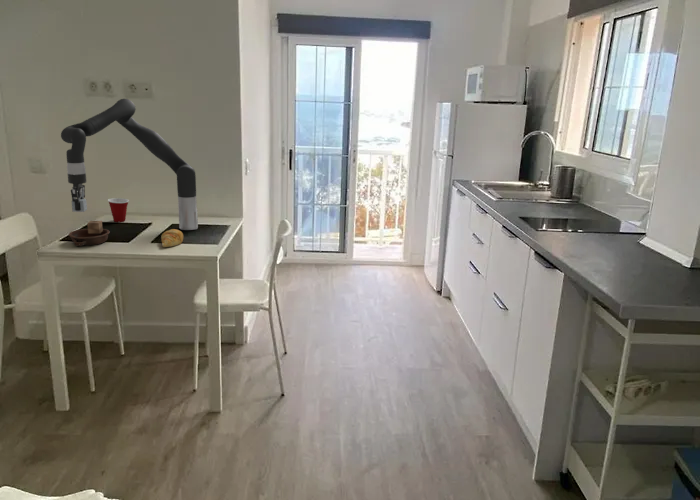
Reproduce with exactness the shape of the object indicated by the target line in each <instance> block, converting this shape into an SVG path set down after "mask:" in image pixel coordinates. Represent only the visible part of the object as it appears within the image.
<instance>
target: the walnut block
mask: <svg viewBox="0 0 700 500" xmlns="http://www.w3.org/2000/svg"><path fill="white" fill-rule="evenodd" d="M87 229H88V233H101V232H102V231H103V229H104V228H103V221H102V220H89V221H88V222H87Z"/></svg>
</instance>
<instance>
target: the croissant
mask: <svg viewBox="0 0 700 500" xmlns="http://www.w3.org/2000/svg"><path fill="white" fill-rule="evenodd" d="M160 239H161V240H160V241H161V244H162V248H170V247H174V246H175V247H176V246H179V245H181V244H182V243H183V241H184V233H183V232H182V231H181V230H179V229H177V228H176V229H175V228H171V229H167V230H166V231H164V232H163V233H162V234H161V237H160Z"/></svg>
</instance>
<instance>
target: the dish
mask: <svg viewBox="0 0 700 500" xmlns="http://www.w3.org/2000/svg"><path fill="white" fill-rule="evenodd" d="M110 232H111V231H110V230H109V229H107V228H103V231H102V232H101V233H88V228H82V229H75V230H73V231H70V232H69V233H68V237H70V239H71V241H72V243H73V244H74V246H75V247H81V246H96V245H100V244H102V243H105V242H107V241H108V238H109V234H110Z"/></svg>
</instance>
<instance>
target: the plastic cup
mask: <svg viewBox="0 0 700 500" xmlns="http://www.w3.org/2000/svg"><path fill="white" fill-rule="evenodd" d="M107 202H108V204H109V208H110V211H111V216H112V219H113V222H115V223H124V222H126V217H127V210H128V205H129V202H130V199H127V198H122V197H121V198H120V197H111V198H108V199H107Z"/></svg>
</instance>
